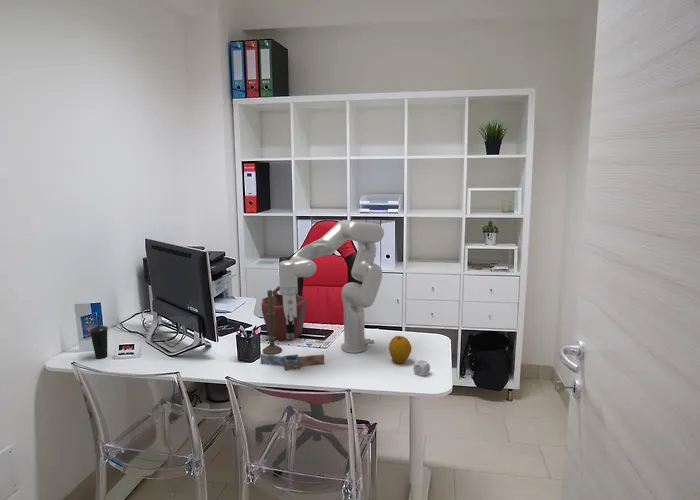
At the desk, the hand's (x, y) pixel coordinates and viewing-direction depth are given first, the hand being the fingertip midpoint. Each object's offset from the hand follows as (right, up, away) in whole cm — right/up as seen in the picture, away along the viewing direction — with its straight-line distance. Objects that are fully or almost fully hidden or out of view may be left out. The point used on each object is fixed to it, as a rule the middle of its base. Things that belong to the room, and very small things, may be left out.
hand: (290, 331), depth 216 cm
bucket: (-7, -9, +42) cm, 43 cm away
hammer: (0, -15, +5) cm, 16 cm away
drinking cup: (-89, -15, +17) cm, 91 cm away
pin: (0, -3, +1) cm, 3 cm away
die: (+55, -17, -6) cm, 58 cm away
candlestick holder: (-11, -13, +21) cm, 27 cm away
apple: (+47, -15, +7) cm, 50 cm away
